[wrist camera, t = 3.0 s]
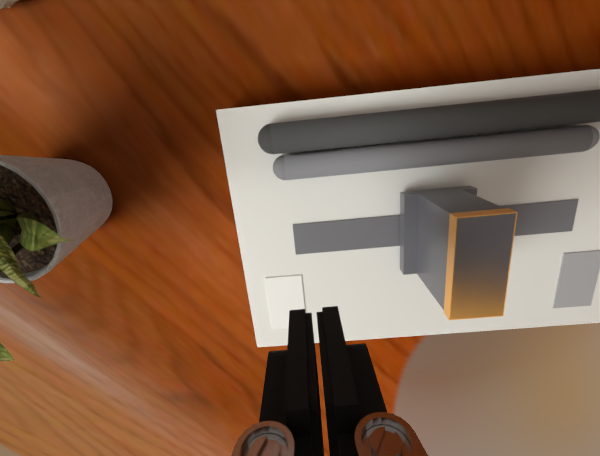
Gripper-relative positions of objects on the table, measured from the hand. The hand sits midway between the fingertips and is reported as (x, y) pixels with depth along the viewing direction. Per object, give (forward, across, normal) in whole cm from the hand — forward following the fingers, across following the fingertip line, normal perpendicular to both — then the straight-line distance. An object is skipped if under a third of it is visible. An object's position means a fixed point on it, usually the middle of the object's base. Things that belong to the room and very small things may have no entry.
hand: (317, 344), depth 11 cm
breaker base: (+12, -8, 0) cm, 14 cm away
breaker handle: (+9, -8, 0) cm, 12 cm away
